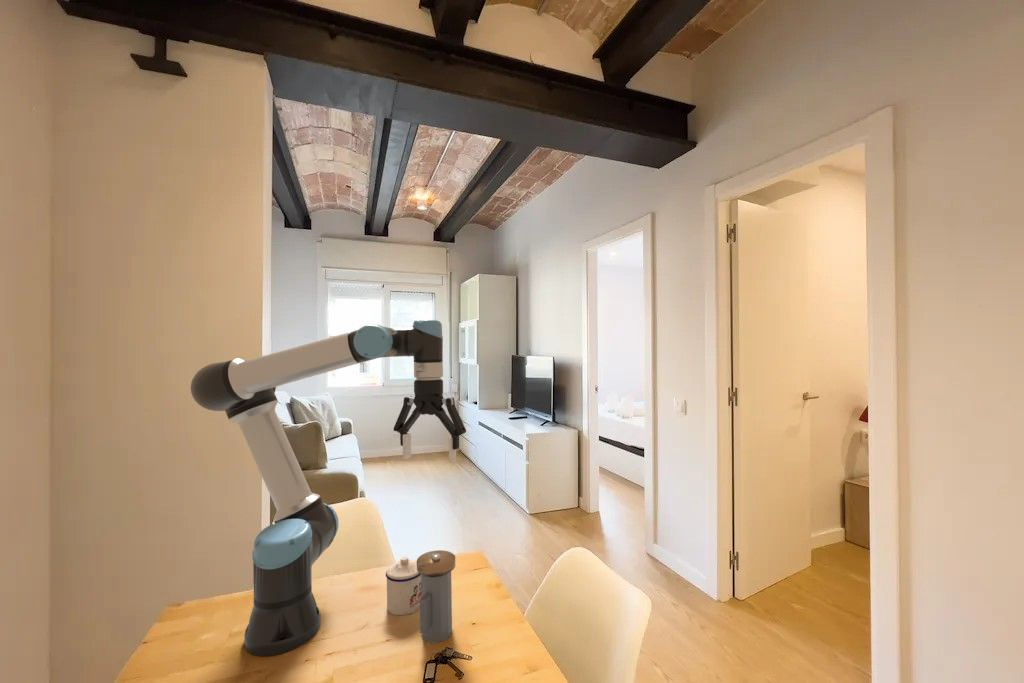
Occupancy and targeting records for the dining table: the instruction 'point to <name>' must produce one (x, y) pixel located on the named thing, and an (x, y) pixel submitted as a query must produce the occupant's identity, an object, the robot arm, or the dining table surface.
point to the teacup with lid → (403, 587)
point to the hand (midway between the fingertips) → (429, 460)
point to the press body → (436, 607)
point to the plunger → (436, 563)
